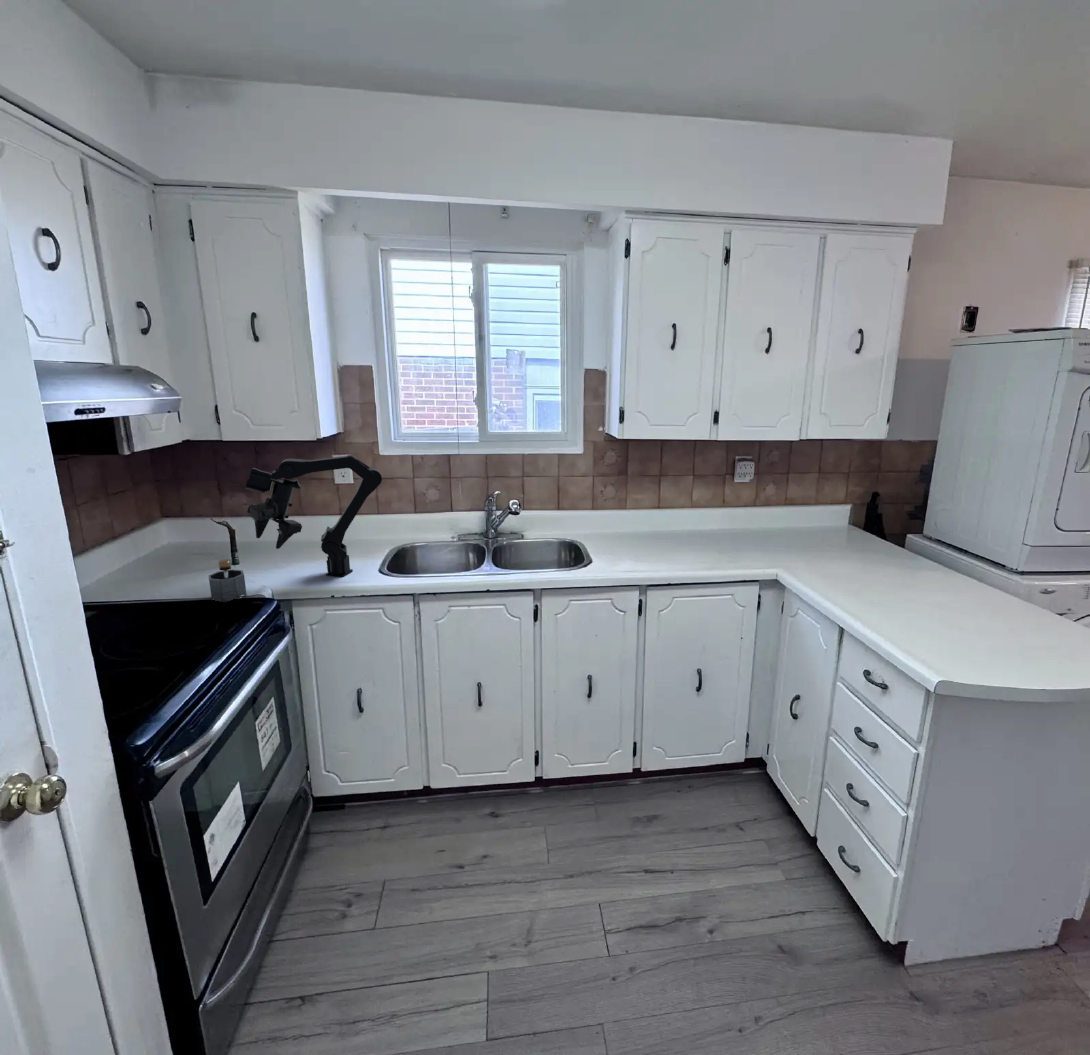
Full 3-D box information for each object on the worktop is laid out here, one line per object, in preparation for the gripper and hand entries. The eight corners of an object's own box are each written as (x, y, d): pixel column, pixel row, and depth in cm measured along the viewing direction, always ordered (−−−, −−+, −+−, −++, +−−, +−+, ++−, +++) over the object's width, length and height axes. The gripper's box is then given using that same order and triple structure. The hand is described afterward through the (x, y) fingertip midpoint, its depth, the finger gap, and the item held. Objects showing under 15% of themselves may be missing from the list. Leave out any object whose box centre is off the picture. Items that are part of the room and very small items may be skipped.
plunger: (246, 591, 169) (242, 558, 166) (230, 599, 163) (225, 565, 160) (227, 589, 170) (223, 556, 168) (210, 597, 164) (205, 563, 161)
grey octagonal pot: (253, 592, 170) (250, 571, 168) (231, 603, 161) (228, 581, 160) (227, 590, 172) (224, 568, 170) (204, 601, 163) (200, 578, 161)
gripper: (238, 485, 172) (225, 532, 174) (280, 506, 165) (266, 554, 167) (269, 488, 183) (256, 533, 184) (309, 508, 176) (295, 553, 178)
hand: (267, 543), depth 178 cm, fingers open, 9 cm apart
